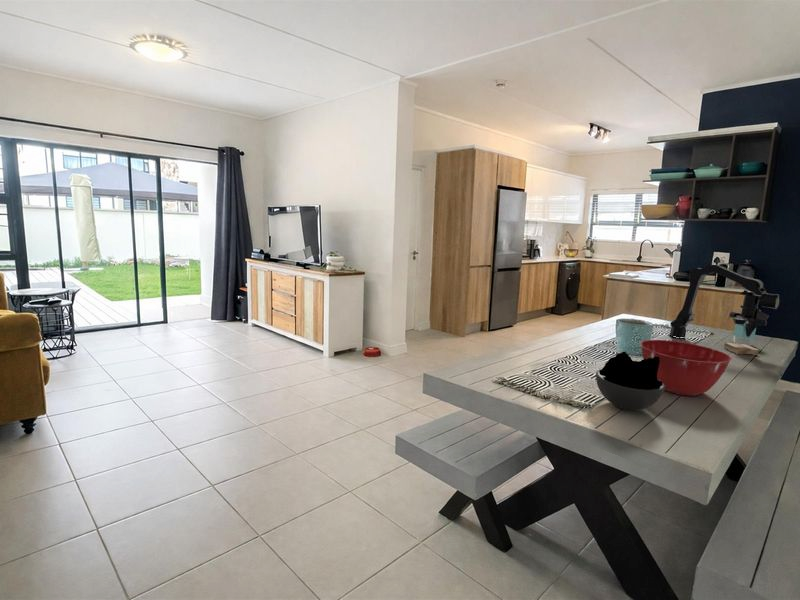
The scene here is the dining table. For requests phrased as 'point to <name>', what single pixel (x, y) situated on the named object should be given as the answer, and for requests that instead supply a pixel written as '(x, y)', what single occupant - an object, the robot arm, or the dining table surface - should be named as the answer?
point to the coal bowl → (630, 382)
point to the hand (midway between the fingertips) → (743, 334)
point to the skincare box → (743, 340)
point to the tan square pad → (741, 348)
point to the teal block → (742, 332)
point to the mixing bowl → (686, 365)
